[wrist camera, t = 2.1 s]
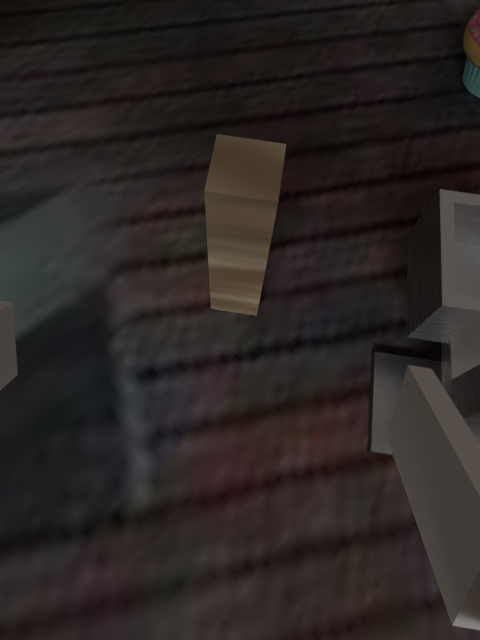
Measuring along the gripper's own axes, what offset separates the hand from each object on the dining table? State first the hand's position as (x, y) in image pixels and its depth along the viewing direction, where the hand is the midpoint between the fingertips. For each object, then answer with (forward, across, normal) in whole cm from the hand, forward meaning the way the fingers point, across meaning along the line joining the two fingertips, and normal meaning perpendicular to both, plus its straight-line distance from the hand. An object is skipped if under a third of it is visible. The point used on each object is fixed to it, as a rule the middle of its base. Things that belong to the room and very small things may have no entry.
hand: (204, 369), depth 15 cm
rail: (+20, 0, -4) cm, 20 cm away
